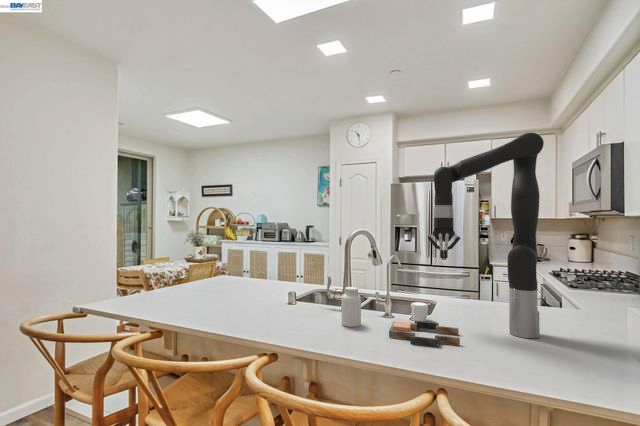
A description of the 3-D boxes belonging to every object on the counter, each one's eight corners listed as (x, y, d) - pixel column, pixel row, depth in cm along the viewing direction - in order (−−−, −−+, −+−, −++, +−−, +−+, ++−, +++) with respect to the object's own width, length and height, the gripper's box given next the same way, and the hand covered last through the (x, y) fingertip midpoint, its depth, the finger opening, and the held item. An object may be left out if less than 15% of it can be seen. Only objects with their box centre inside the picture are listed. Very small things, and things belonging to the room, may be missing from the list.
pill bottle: (364, 324, 142) (364, 287, 142) (353, 328, 136) (352, 290, 136) (349, 320, 147) (349, 285, 147) (337, 324, 141) (337, 288, 142)
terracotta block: (411, 332, 132) (410, 322, 132) (409, 338, 125) (409, 327, 125) (395, 331, 134) (395, 320, 134) (392, 337, 127) (392, 326, 127)
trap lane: (458, 331, 133) (457, 324, 133) (460, 350, 114) (460, 342, 114) (394, 324, 141) (394, 318, 141) (387, 341, 122) (387, 334, 122)
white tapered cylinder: (428, 322, 144) (428, 306, 144) (411, 321, 145) (411, 305, 145) (427, 318, 150) (426, 302, 151) (410, 317, 152) (410, 301, 152)
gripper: (460, 216, 141) (461, 259, 140) (426, 216, 145) (427, 258, 145) (461, 216, 134) (461, 261, 133) (426, 216, 138) (426, 260, 138)
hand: (443, 259), depth 139 cm, fingers closed
